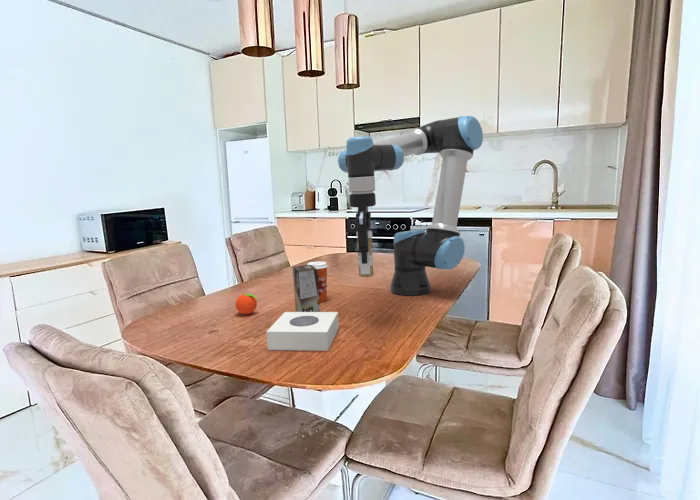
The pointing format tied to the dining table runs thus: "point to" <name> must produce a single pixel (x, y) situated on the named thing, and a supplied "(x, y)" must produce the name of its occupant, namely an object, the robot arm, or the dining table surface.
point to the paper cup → (321, 279)
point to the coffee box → (306, 288)
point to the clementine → (246, 303)
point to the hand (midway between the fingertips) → (366, 271)
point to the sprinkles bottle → (369, 256)
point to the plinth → (303, 331)
